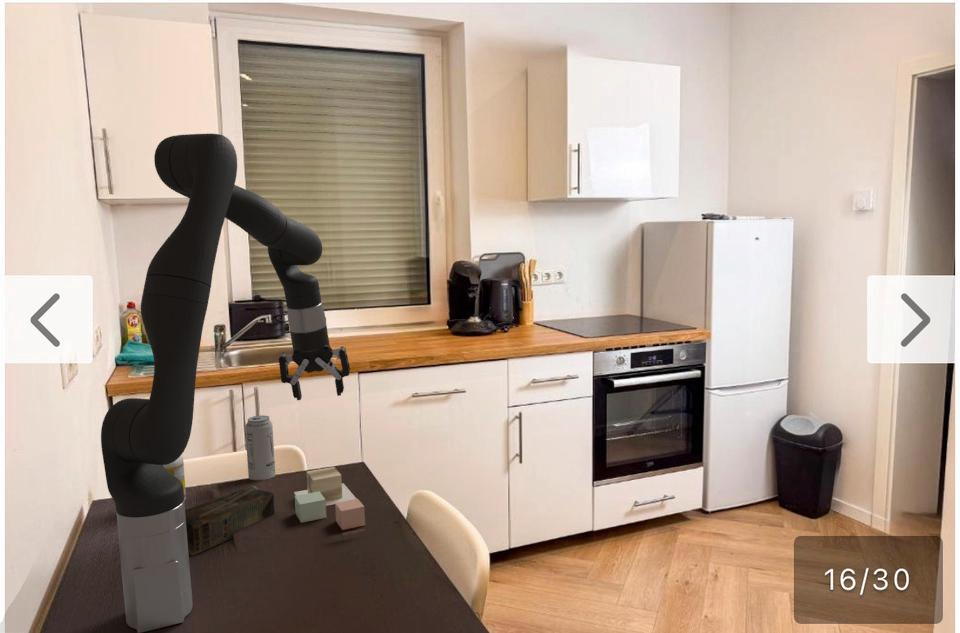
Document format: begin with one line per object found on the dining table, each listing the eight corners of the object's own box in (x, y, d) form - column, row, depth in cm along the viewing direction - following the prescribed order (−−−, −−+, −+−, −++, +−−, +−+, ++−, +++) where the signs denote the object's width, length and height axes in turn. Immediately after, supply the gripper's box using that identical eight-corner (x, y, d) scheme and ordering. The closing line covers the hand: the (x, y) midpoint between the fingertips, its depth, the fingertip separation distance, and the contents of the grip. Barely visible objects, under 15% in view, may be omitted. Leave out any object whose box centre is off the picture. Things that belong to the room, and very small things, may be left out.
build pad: (357, 504, 145) (357, 499, 145) (304, 515, 140) (304, 509, 140) (343, 488, 155) (343, 483, 154) (294, 497, 150) (293, 492, 150)
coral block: (365, 531, 132) (364, 506, 131) (342, 536, 130) (341, 511, 129) (358, 522, 136) (357, 498, 135) (336, 527, 134) (335, 503, 133)
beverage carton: (277, 520, 138) (275, 488, 138) (192, 559, 123) (190, 524, 122) (252, 512, 143) (250, 481, 142) (166, 548, 127) (163, 514, 126)
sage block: (326, 523, 136) (325, 499, 135) (301, 529, 134) (299, 504, 133) (320, 514, 140) (319, 491, 140) (296, 519, 138) (294, 495, 138)
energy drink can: (274, 483, 158) (270, 420, 157) (247, 486, 157) (243, 422, 155) (276, 475, 164) (272, 414, 162) (250, 477, 163) (246, 415, 161)
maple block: (342, 497, 146) (341, 475, 145) (314, 503, 143) (312, 480, 143) (335, 488, 151) (334, 466, 150) (307, 493, 148) (306, 471, 148)
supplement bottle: (145, 507, 146) (140, 449, 145) (168, 495, 153) (163, 439, 151) (171, 510, 144) (166, 451, 143) (193, 498, 151) (188, 441, 149)
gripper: (269, 334, 138) (283, 407, 143) (340, 327, 139) (351, 399, 144) (276, 323, 146) (289, 393, 150) (343, 316, 147) (354, 386, 151)
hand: (319, 396), depth 147 cm, fingers open, 8 cm apart
